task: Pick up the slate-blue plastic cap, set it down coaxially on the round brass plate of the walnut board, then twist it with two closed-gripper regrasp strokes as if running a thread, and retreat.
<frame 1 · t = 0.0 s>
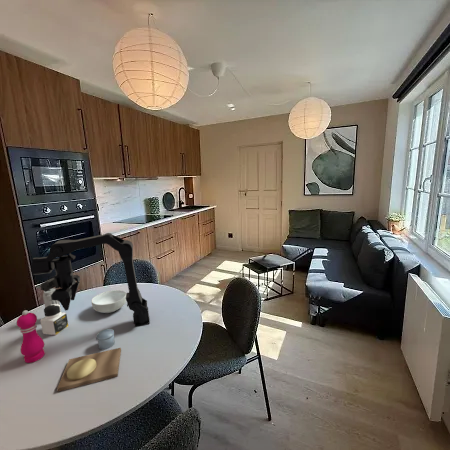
hand: (69, 304, 106), 15 cm above the table, fingers open, 9 cm apart
cereal bowl: (111, 309, 131), on the table
cap: (106, 344, 102), on the table
pepper mill: (35, 357, 96), on the table
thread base: (82, 373, 87), on the table
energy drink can: (55, 318, 124), on the table
medicine bottle: (56, 330, 114), on the table
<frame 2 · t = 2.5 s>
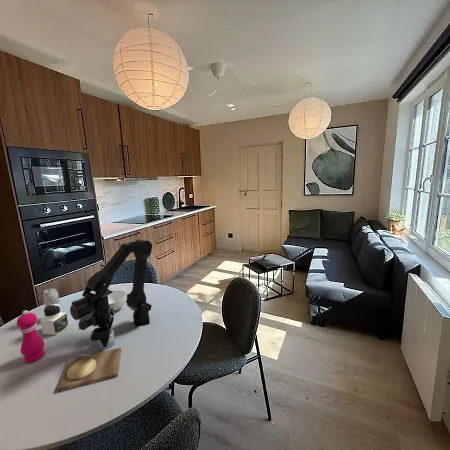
hand: (106, 341, 102), 1 cm above the table, fingers closed on cap, 6 cm apart
cap: (106, 344, 102), on the table, touching gripper
everything else where it was.
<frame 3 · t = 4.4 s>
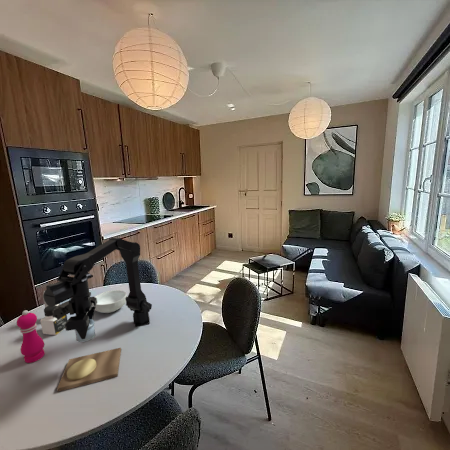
hand: (85, 333, 90), 12 cm above the table, fingers closed on cap, 6 cm apart
cap: (86, 336, 90), point 11 cm above the table, touching gripper
everything else where it was.
when the fingers open (4 cm above the table, at t = 6.6 s): cap stays where it is, resting on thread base.
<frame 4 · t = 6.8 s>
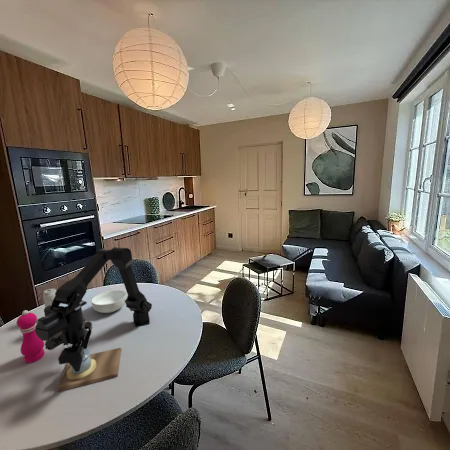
hand: (80, 362, 86), 4 cm above the table, fingers open, 8 cm apart
cap: (81, 367, 87), point 2 cm above the table, touching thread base
everything else where it was.
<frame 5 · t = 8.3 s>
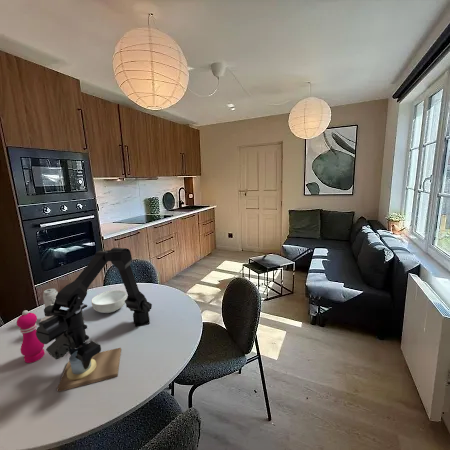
hand: (81, 365, 87), 3 cm above the table, fingers closed on cap, 6 cm apart
cap: (81, 367, 87), point 2 cm above the table, touching gripper, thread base
everything else where it was.
when the fingers open (3 cm above the table, at t = 12.3 s): cap stays where it is, resting on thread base.
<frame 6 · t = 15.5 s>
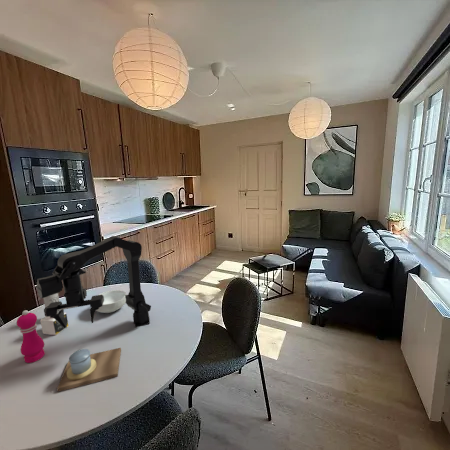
hand: (79, 325, 96), 12 cm above the table, fingers open, 9 cm apart
cap: (81, 367, 87), point 2 cm above the table, touching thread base
everything else where it was.
at the end: cap 0.0 cm off-centre on the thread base, point 2.2 cm above the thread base's base; cap tilted 0°; the gripper is holding nothing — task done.
